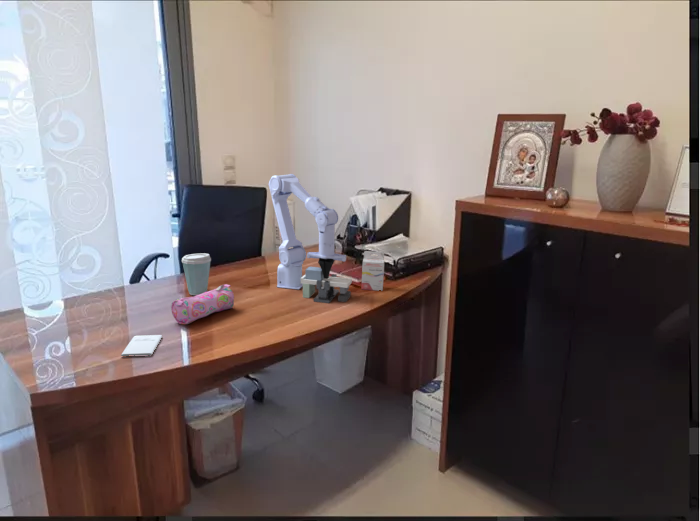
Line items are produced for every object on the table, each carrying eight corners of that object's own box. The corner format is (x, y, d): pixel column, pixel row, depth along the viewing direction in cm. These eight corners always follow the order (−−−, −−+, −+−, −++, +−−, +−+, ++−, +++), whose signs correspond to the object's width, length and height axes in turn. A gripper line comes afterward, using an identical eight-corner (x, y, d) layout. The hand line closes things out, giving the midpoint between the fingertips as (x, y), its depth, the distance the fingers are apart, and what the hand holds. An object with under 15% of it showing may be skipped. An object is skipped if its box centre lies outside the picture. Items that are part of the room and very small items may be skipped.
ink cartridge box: (361, 289, 196) (362, 253, 192) (362, 285, 201) (363, 250, 197) (382, 291, 196) (384, 254, 192) (383, 287, 200) (384, 251, 196)
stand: (313, 301, 183) (313, 282, 180) (324, 290, 195) (324, 272, 193) (329, 303, 181) (329, 283, 179) (338, 292, 193) (339, 273, 191)
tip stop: (338, 301, 183) (338, 296, 183) (343, 295, 190) (343, 290, 189) (345, 302, 183) (345, 297, 182) (350, 296, 189) (350, 291, 189)
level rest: (302, 297, 187) (302, 283, 185) (308, 291, 193) (308, 278, 192) (309, 298, 186) (309, 284, 184) (315, 292, 192) (315, 278, 191)
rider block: (305, 279, 186) (305, 269, 185) (309, 276, 190) (309, 266, 189) (320, 281, 185) (320, 271, 184) (324, 278, 189) (324, 267, 188)
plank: (299, 290, 185) (299, 279, 183) (308, 282, 194) (308, 271, 193) (346, 295, 180) (346, 283, 179) (352, 287, 190) (353, 276, 188)
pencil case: (220, 304, 178) (219, 280, 176) (238, 309, 173) (237, 285, 171) (169, 322, 161) (167, 296, 159) (188, 329, 156) (186, 302, 154)
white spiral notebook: (121, 359, 137) (134, 340, 149) (152, 358, 138) (162, 339, 150) (120, 354, 137) (133, 335, 149) (151, 353, 138) (162, 334, 150)
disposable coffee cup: (177, 295, 186) (174, 256, 182) (196, 286, 196) (193, 249, 192) (200, 299, 182) (198, 259, 178) (218, 290, 192) (216, 253, 188)
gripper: (304, 243, 180) (304, 279, 184) (342, 246, 177) (342, 283, 180) (310, 239, 187) (310, 273, 190) (347, 242, 183) (347, 277, 187)
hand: (326, 277), depth 186 cm, fingers closed
